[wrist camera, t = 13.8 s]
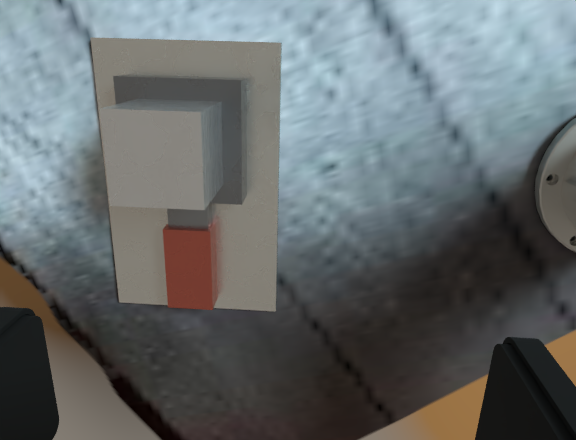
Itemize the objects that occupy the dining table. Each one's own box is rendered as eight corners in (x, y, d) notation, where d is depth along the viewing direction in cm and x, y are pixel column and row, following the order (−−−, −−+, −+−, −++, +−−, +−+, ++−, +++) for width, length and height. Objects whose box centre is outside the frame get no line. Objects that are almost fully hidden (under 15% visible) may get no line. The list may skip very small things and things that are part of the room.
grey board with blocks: (281, 42, 34) (272, 40, 27) (276, 308, 41) (267, 356, 35) (93, 37, 35) (40, 34, 28) (121, 299, 42) (84, 345, 36)
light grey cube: (221, 101, 33) (200, 112, 27) (223, 184, 35) (204, 210, 29) (137, 98, 33) (99, 108, 27) (143, 181, 35) (109, 206, 29)
